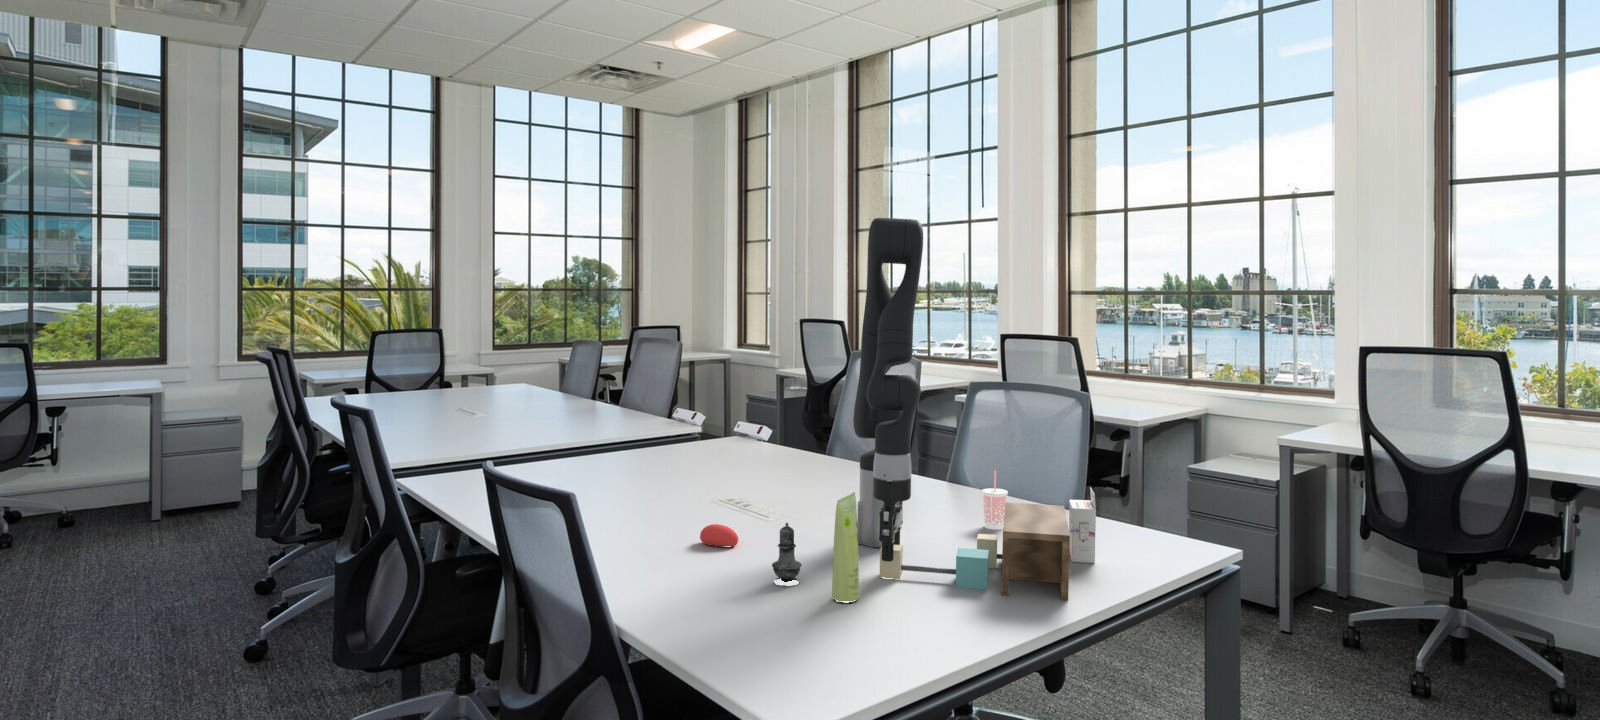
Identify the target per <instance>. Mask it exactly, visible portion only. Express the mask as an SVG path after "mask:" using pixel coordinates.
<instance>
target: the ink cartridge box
mask: <svg viewBox="0 0 1600 720" xmlns="http://www.w3.org/2000/svg"><path fill="white" fill-rule="evenodd" d="M1089 490H1090V491H1089V492H1090V500H1087V499H1069V501H1068V505H1069V507H1068V510H1069V511H1068V512H1069V513H1068V529H1069V534H1070V548H1069V558H1070V560H1071V562H1072V563H1086V564H1087V563H1088V564H1096V563H1095V562H1096V530H1097V529H1096V527H1097V526H1096V523H1097V521H1096V520H1097V519H1096V518H1097V517H1096V516H1097V509H1096V508H1097V506H1096V496H1095V495H1096V494H1095V492H1094V491H1093V489H1092V487H1089Z"/></svg>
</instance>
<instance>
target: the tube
mask: <svg viewBox="0 0 1600 720" xmlns="http://www.w3.org/2000/svg"><path fill="white" fill-rule="evenodd" d="M857 513H858V507H857V497H856V492H855V491H854V492H852V493H850V494H849V495H846V496H844V497H842V498H840V499H838V500H836V506H835V519H834V532H833V533H834V536H833V558H832V584H831V585H832V587H831V588H832V590H831V599H832V598H834V599H836V600H838V601H854V600H857V599H858V598H859V596H860V595H859V593H860V591H859V581H860V580H859V575H860V574H859V571H860V570H859V569H860V568H859V544H858V528H857ZM858 600H859V599H858ZM858 600H857V601H858Z"/></svg>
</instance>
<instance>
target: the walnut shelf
mask: <svg viewBox="0 0 1600 720" xmlns="http://www.w3.org/2000/svg"><path fill="white" fill-rule="evenodd" d="M1065 510H1066V508H1065V505H1056V504H1054V505H1053V504H1041V503H1040V504H1039V503H1038V504H1037V503H1020V502H1007V501H1006V503H1005V514H1004V525H1003V529H1002V552H1001V553H1002V559H1001V562H1002V563H1001V564H1002V565H1001V596H1009V582H1010V581H1009V580H1016V581H1017V580H1018V581H1031V582H1040V583H1041V582H1042V583H1043V582H1044V583H1055V584H1056V583H1057V584H1059V592H1060V600H1061V601H1069V587H1070V586H1069V585H1070V584H1069V583H1070V582H1069V581H1070V580H1069V579H1070V576H1069V575H1070V554H1069V548H1070V534H1069V523H1068V521H1067V520H1068V519H1067V514H1066V511H1065Z"/></svg>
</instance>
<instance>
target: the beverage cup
mask: <svg viewBox="0 0 1600 720" xmlns="http://www.w3.org/2000/svg"><path fill="white" fill-rule="evenodd" d="M981 492H982V493H981V495H982V497H983V498H982V499H983V516H984V517H983V520H984V523H983V524H984V527H985V528H986V529H987V530H1003V525H1004V514H1005V503H1006V502H1007V496H1008V493H1009V492H1008V490H1006V489H1003V488H997V470H994V471H993V488H990V487H989V488H983V489H982V490H981Z"/></svg>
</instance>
